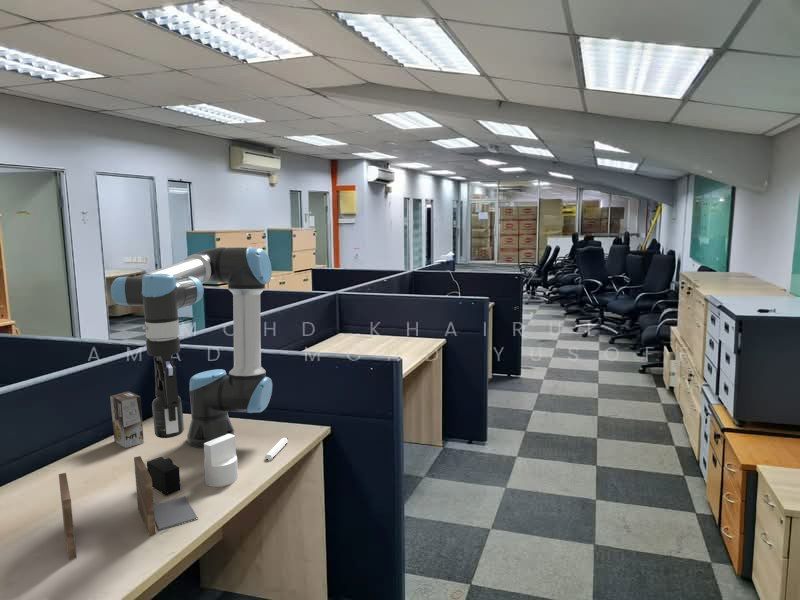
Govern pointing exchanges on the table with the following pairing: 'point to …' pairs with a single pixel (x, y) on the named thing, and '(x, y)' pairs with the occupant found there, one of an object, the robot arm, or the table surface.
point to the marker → (276, 448)
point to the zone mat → (173, 513)
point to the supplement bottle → (160, 415)
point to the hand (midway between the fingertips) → (169, 427)
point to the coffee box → (127, 419)
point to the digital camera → (164, 475)
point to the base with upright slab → (221, 461)
